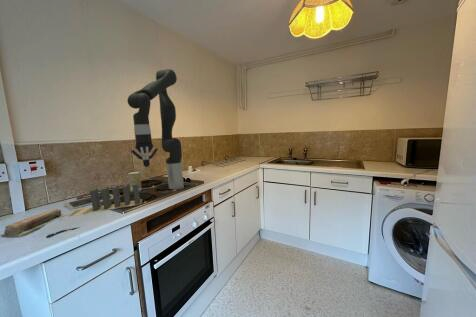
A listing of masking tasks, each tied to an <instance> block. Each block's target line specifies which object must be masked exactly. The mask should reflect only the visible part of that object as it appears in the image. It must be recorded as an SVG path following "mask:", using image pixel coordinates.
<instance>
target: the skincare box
mask: <svg viewBox="0 0 476 317" xmlns="http://www.w3.org/2000/svg"><path fill="white" fill-rule="evenodd" d="M127 174H128V182H129V183H128V186H129V193H132V192H133V184H134V183H138V189H139V192H141V191H142V189H143V188H142V180H141V178H142V177H141V171H134V172H129V173H127ZM133 193H134V192H133Z"/></svg>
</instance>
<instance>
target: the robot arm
mask: <svg viewBox="0 0 476 317" xmlns="http://www.w3.org/2000/svg"><path fill="white" fill-rule="evenodd" d="M177 79H178V78H177V74H176V72H175V70H173V69H170V68H169V69H160V70H157V71H156V74H155V80H154V81H151V82H149V83H148V84H146V85H145V86H144V87H142V88H141V89H139V90H136V91H135V92H132V93H130V95H128V97H127V99H126V100H127V104H128V105H129V108H132V109H138V111H137V112H135V113H133V118H132V119H133V127H134V128H133V130H134V132H133V133H134V138H135V139H134V140H135V147H134V148H133V149H132V150H131V153H132V154H133V155H134V156H135V157H137V159H139V160H142V162H143V167H145V168H149V167H150V160H151V159H153V157H154V156H155V155H156V153H157V152H158V148H157V147H156V146H154V144H153V141H152V132H151V127H150V117H149V116H150V109H151V103H152V102H151V101H152V100H154V99H155V98H156V97H157V96H158V100H159V112H160V121H161V122H160V123H161V148H162V150H163V151H164V152H165V153H169V157H167V158H166V159H165V161H166V162H165V163H166V174H167V181H168V189H170V190H175V191H177V190H182V189H184V188H185V187H184V186H185V185H184V174H183V167H182V157H183V153H182V152H183V150H182V143H181V140H180V139H178V138H176V137H173V128H174V124H175V123H176V118H177V114H176V113H177V112H176V106H175V104H174V103H173V101H172V99H171V98H170V95H169V94H168V90H167V89H168V88H169V87H172V86H173V85H175V84H176V83H177ZM151 151H152V153H151ZM138 152H139V153H140V154H141V155H140V154H139V153H138ZM150 153H151V154H150Z"/></svg>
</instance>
